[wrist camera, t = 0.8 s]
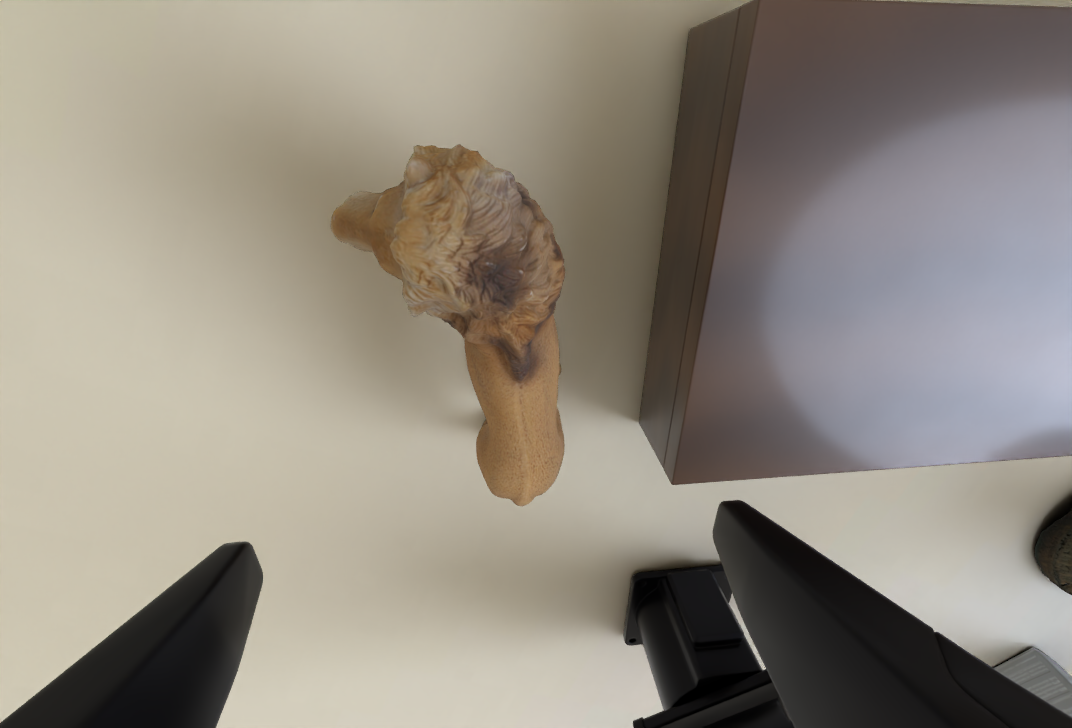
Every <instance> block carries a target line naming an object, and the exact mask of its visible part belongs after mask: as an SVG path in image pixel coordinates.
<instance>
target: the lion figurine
mask: <svg viewBox="0 0 1072 728" xmlns="http://www.w3.org/2000/svg"><path fill="white" fill-rule="evenodd" d="M331 230H332V232H333V234H334V235H335V237H336V238H337V239H338V240H340V241H341V242H343V243H348V244H350V245H352V246H353V247H355V248H357V249H360V250H363V251H370V252H374V255H375V256H376V258H377V259H378V262H379V264H380V266H381V267H382V268H383V269H384V270H385V271H386V272H388V273H390V274H391V275H393V276H395V277H397V278H399V279H400V280H402V282H403V291H402V294H403V297H404V299H405V301H406V303H407V304H408V310H409V312H410V314H411V316H413V317H416V316H418V315H420V314H422V313H424V312H426V313H427V314H429V315H431V316H435V317H439V318H442V320H444V321H445V322H448V323H449V324H450V325H451V326H452V327H453V328H455V329H456V330H457V331H458V332H459V333H460V334H461V335H462V336H463V338H464V339H465V353H466V360H467V366H468V371H469V374H470V377H471V380H472V384H473V387H474V389H475V392H476V395H477V397H478V400H479V403H480V405H481V408H482V410H483V412H484V415H485V417H486V420H485V422H484V423H483V425H482V428H481V430H480V431H479V434H478V437H477V442H476V452H477V460H478V464H479V466H480V469H481V471H482V474H483V477H484V479H485V481H486V483H487V486H488V488H489V489H490V491H491V492H492V493H493V494H494V495H495V496H497V497H500V498H507V499H511V500H512V501H513V502H514V503H515V504H516V505H518V506H524V505H527V504H529V503H530V502H531V501H532V500H533V499H534V497H536V496H538V495H541V494H543V493H544V492H546V491H547V490H548V489H549V488H550V486H551V485H552V484H553V483H554V481H555V479H556V478H557V475H558V473H559V470H560V467H561V464H562V460H563V455H564V435H563V431H562V425H561V420H560V415H559V411H558V409H557V396H558V377H559V375H560V373H561V365H560V363H559V343H558V335H557V328H556V324H555V319H554V316H553V314H554V310H555V306H556V301H557V300H558V298H559V296H560V293H561V289H562V284H563V281H564V277H565V268H564V265H563V264H564V259H563V256H562V252H561V249H560V246H559V245H558V244H557V243H556V241H555V237H554V234H553V226H552V224H551V222H550V221H549V220H548V219H547V218H546V217H545V216H544V214H543V213H542V211H541V208H540V206H539V205H538V204H537V203H536V201H535V200H532V199H531V198H530V197H529V193H528V190H527V189H526V188H525V187H524V186H522V185H521V184H520V183H517V182H515V180H514V176H513V175H512V174H511V173H510V172H509V171H505V170H503V169H500V168H495V167H494V166H493V165H492V164H491V163H489V162H488V161H486V160H485V159H484V158H482V156H481V155H480V154H479V152H478V151H470V150H468V149H466V148H464V147H463V146H461V145H457V146H455V147H454V148H452V149H447V148H437V147H436V146H432V145H431V146H426V147H423V146H419V145H417V146H415V147H414V154H412V156H411V158H410V159H409V161H408V163H407V166H406V170H405V172H404V181H403V182H402V183H401V184H400V185H398V186H396V187H393V188H390V189H388V190H385V191H384V192H383V193H371V192H363V191H359V192H356V193H354V194H352V195H351V196H349V197H348V198H347V199H346V200H345V202H344V203H343V205H341V206H339V207H338V208H336V209H335V211H334V212H333V215H332V219H331Z"/></svg>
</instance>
